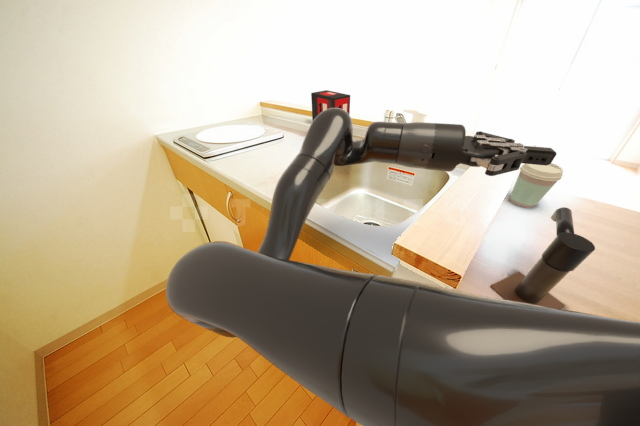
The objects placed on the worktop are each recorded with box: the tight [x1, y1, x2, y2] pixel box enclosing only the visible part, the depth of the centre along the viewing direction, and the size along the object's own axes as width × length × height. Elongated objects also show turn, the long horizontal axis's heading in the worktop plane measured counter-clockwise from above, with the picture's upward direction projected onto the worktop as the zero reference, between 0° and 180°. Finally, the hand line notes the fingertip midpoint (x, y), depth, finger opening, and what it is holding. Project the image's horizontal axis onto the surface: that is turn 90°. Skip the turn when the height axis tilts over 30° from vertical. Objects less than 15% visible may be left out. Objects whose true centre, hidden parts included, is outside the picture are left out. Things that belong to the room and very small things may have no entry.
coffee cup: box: [508, 162, 564, 209], centre depth 62 cm, size 9×8×12 cm
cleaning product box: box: [310, 89, 351, 121], centre depth 107 cm, size 16×9×20 cm, turn 37°
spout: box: [541, 207, 596, 272], centre depth 38 cm, size 15×4×4 cm, turn 142°
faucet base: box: [489, 256, 571, 309], centre depth 39 cm, size 8×8×10 cm
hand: (551, 157), depth 34 cm, fingers closed
